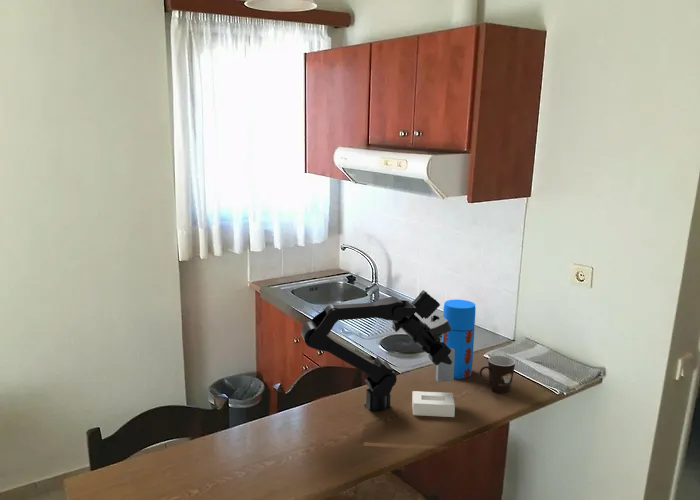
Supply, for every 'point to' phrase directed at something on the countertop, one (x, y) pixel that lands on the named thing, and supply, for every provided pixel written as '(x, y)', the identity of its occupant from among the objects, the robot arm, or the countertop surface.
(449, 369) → the grey rectangular block
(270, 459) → the countertop surface
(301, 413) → the countertop surface
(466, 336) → the thermos
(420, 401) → the slot box
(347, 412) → the countertop surface
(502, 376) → the coffee mug
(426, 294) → the robot arm
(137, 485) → the countertop surface
